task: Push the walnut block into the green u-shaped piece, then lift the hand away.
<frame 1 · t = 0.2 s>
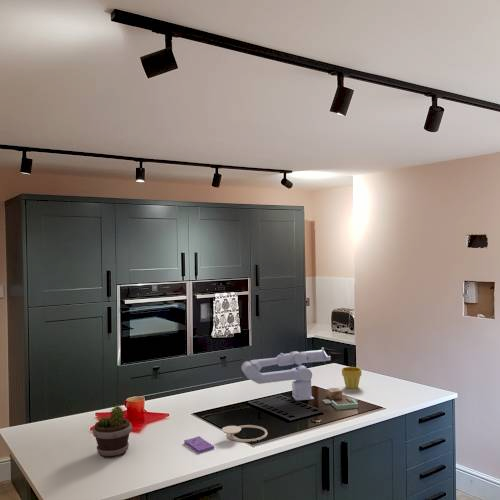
hand: (339, 353, 265), 21 cm above the countertop, tool horizontal, fingers open, 7 cm apart
green u-shaped piece: (340, 402, 252), on the countertop
walnut block: (334, 397, 261), on the countertop
hand towel holder: (243, 436, 213), on the countertop
flowerpot: (113, 453, 198), on the countertop
plant pot: (352, 387, 278), on the countertop
sponges: (199, 447, 203), on the countertop
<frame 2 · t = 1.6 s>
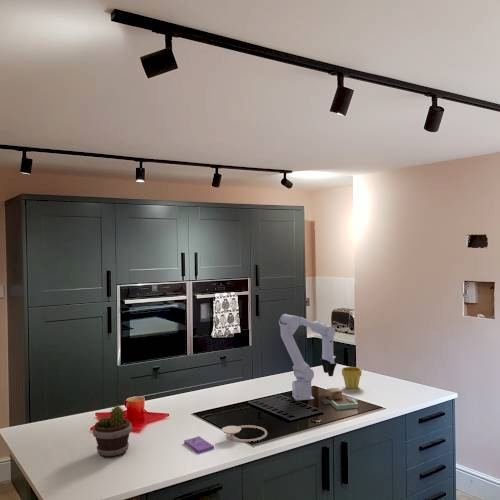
hand: (328, 374, 270), 9 cm above the countertop, tool pointing down, fingers open, 7 cm apart
nothing on the countertop moved.
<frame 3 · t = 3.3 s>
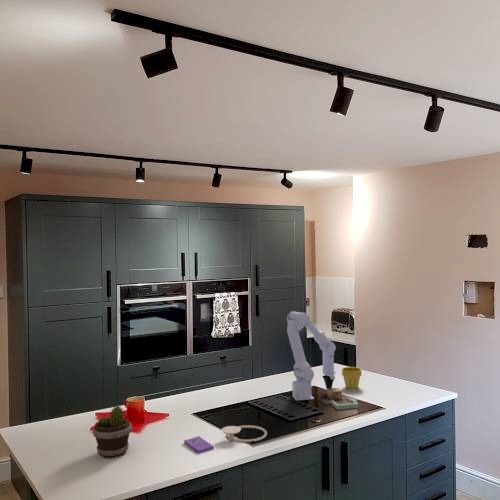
hand: (328, 389, 270), 1 cm above the countertop, tool pointing down, fingers closed
nothing on the countertop moved.
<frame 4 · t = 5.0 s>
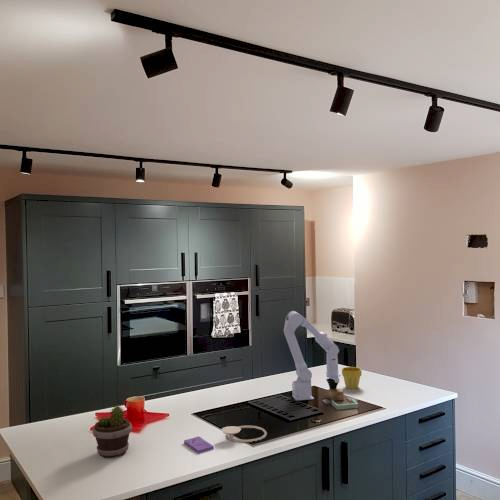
hand: (333, 393, 263), 1 cm above the countertop, tool pointing down, fingers closed
walnut block: (336, 398, 259), on the countertop, touching gripper
everything else where it was.
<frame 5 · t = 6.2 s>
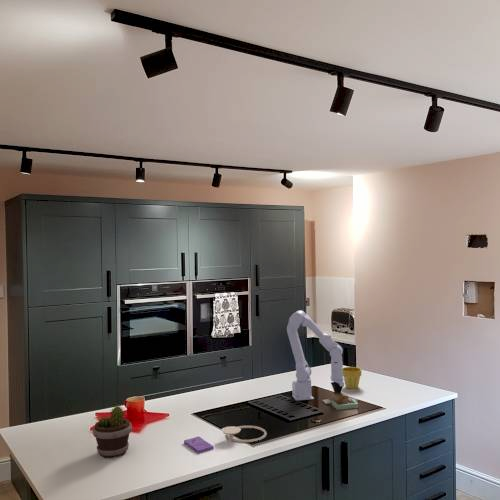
hand: (337, 397, 256), 1 cm above the countertop, tool pointing down, fingers closed
walnut block: (340, 402, 252), on the countertop, touching gripper
everything else where it was.
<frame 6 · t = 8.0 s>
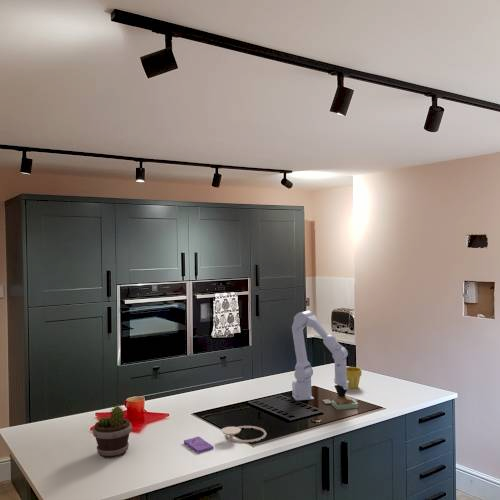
hand: (341, 400, 251), 1 cm above the countertop, tool pointing down, fingers closed
walnut block: (344, 406, 247), on the countertop
everything else where it was.
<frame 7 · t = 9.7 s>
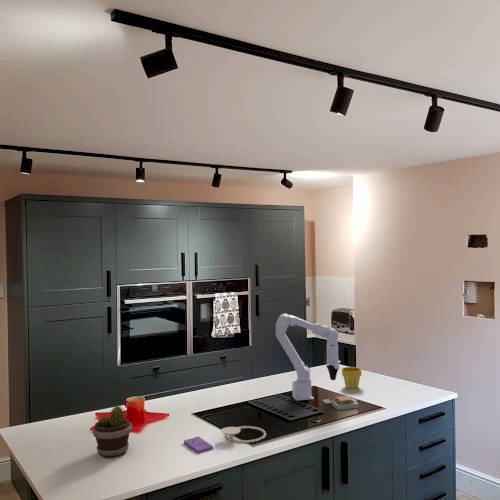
hand: (333, 379, 259), 9 cm above the countertop, tool pointing down, fingers closed
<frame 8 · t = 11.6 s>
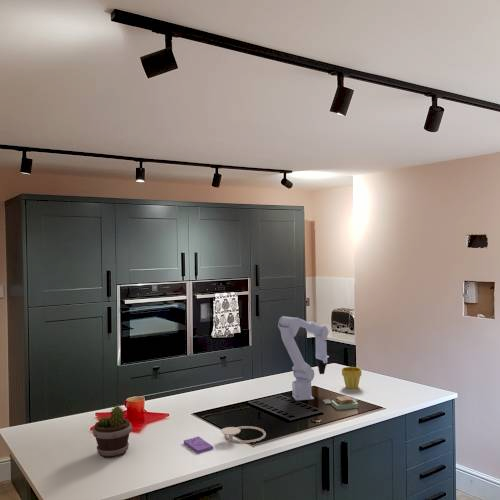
hand: (321, 373, 271), 9 cm above the countertop, tool pointing down, fingers closed
at the end: walnut block 0.5 cm from the target spot on the green u-shaped piece, point 0.0 cm above the green u-shaped piece's base; walnut block tilted 0°; the gripper is holding nothing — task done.
